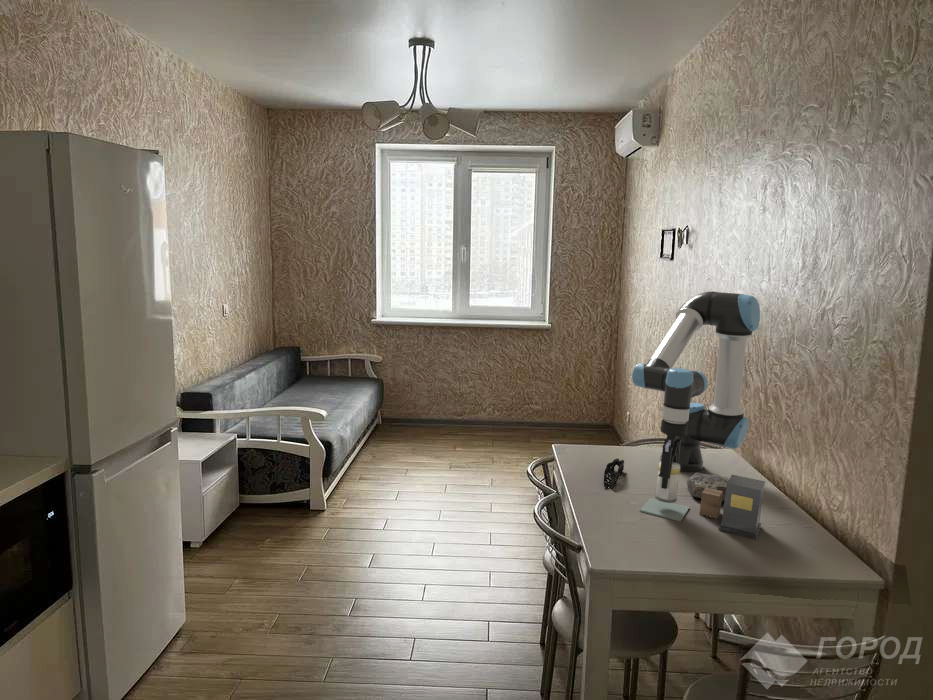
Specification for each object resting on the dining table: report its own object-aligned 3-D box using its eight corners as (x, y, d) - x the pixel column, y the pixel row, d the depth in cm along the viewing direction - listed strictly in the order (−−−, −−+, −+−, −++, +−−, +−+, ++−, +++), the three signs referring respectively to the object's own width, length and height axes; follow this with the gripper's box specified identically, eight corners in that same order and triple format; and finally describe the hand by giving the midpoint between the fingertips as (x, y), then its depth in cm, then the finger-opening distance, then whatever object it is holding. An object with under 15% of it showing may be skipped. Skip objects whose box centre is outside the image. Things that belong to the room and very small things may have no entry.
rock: (684, 486, 226) (692, 504, 211) (685, 468, 225) (694, 485, 210) (723, 489, 224) (734, 508, 210) (725, 471, 223) (736, 488, 209)
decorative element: (616, 491, 218) (618, 474, 217) (600, 488, 219) (602, 471, 218) (624, 470, 239) (626, 454, 238) (610, 468, 240) (612, 452, 239)
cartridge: (658, 493, 207) (662, 459, 206) (678, 498, 204) (682, 463, 203) (652, 499, 202) (656, 464, 200) (673, 504, 199) (677, 469, 197)
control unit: (725, 517, 201) (730, 473, 198) (761, 526, 196) (767, 480, 193) (718, 529, 192) (724, 483, 189) (756, 539, 187) (762, 491, 184)
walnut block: (702, 509, 207) (705, 487, 205) (719, 513, 204) (722, 491, 203) (699, 514, 202) (702, 492, 201) (716, 518, 200) (719, 496, 199)
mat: (650, 499, 212) (650, 497, 212) (689, 508, 206) (689, 507, 206) (639, 511, 202) (639, 509, 202) (680, 521, 196) (680, 520, 196)
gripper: (669, 412, 209) (661, 483, 213) (653, 424, 193) (645, 501, 197) (694, 416, 206) (686, 488, 209) (680, 429, 189) (671, 507, 193)
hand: (666, 494), depth 203 cm, fingers closed on cartridge, 6 cm apart
